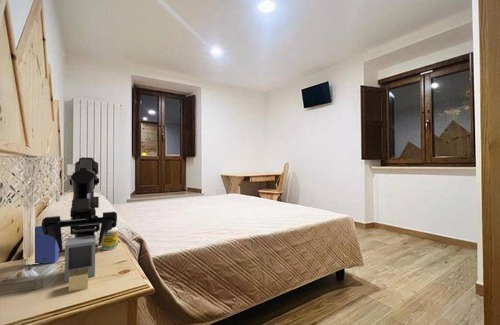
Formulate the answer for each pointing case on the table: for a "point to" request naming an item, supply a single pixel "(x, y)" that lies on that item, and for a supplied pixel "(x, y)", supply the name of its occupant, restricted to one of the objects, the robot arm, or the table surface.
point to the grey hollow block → (80, 255)
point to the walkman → (45, 247)
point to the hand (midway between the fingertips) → (80, 248)
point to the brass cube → (78, 280)
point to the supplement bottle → (110, 239)
